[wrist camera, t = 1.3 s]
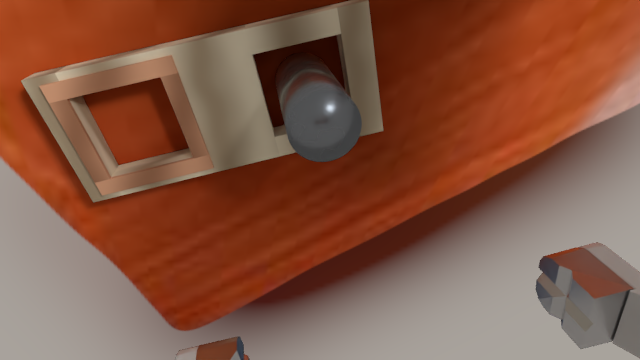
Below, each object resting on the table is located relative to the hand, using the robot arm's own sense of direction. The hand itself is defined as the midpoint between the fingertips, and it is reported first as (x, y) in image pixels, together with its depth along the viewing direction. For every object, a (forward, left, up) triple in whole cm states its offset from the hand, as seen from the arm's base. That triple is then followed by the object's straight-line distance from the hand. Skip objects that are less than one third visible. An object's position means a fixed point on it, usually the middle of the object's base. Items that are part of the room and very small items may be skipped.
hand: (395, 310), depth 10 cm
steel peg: (0, +1, -24) cm, 24 cm away
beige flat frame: (+6, +1, -24) cm, 25 cm away
